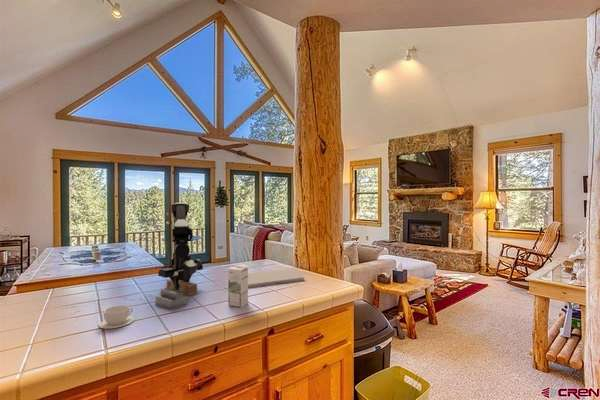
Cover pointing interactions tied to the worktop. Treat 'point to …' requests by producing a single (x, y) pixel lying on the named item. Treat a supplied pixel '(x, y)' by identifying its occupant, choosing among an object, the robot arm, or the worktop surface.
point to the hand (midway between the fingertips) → (181, 288)
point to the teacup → (116, 317)
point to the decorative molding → (274, 277)
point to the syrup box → (238, 286)
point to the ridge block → (171, 298)
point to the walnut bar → (184, 287)
